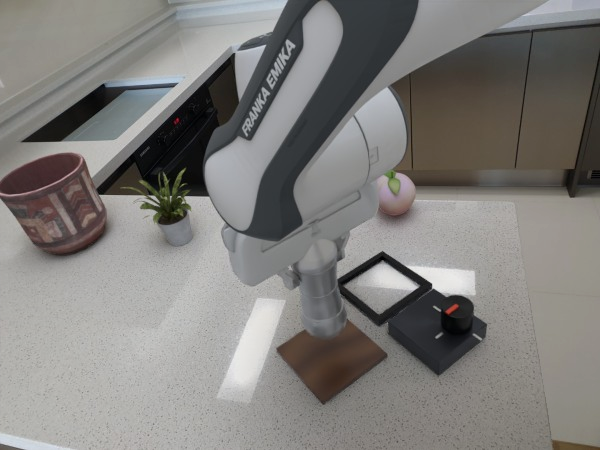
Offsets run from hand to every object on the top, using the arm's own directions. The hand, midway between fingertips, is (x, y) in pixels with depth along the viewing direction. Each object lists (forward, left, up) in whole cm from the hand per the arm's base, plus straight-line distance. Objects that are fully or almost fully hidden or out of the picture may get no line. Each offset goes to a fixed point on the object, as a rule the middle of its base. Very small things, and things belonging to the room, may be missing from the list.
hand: (315, 271), depth 60 cm
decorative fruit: (+19, -32, -17) cm, 41 cm away
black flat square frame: (+5, -15, -17) cm, 23 cm away
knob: (-10, -16, -14) cm, 23 cm away
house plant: (+46, +7, -17) cm, 50 cm away
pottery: (+65, +24, -17) cm, 71 cm away
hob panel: (-8, -14, -17) cm, 23 cm away
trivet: (0, 0, -17) cm, 17 cm away
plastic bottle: (0, 0, -11) cm, 11 cm away
